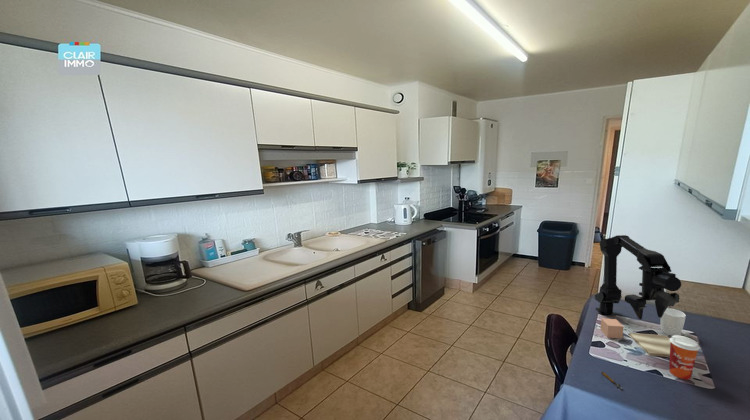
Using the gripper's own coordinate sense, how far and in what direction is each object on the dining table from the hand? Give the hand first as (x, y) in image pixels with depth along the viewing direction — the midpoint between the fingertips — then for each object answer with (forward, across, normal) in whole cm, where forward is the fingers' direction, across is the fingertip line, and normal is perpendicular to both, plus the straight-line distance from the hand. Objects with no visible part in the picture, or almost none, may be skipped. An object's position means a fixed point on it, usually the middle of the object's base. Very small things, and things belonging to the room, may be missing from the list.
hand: (649, 318), depth 125 cm
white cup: (+12, +19, +7) cm, 23 cm away
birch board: (+13, +4, 0) cm, 13 cm away
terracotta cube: (+12, -7, +11) cm, 18 cm away
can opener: (+15, -32, -15) cm, 38 cm away
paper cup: (+14, -4, -16) cm, 22 cm away
